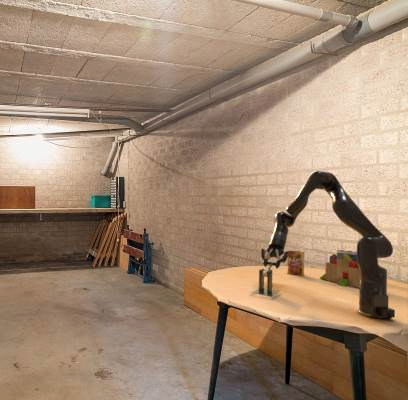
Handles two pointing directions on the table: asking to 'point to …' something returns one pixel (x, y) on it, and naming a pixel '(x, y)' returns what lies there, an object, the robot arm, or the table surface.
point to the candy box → (296, 262)
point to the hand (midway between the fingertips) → (270, 266)
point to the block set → (343, 269)
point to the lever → (268, 268)
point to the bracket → (269, 284)
